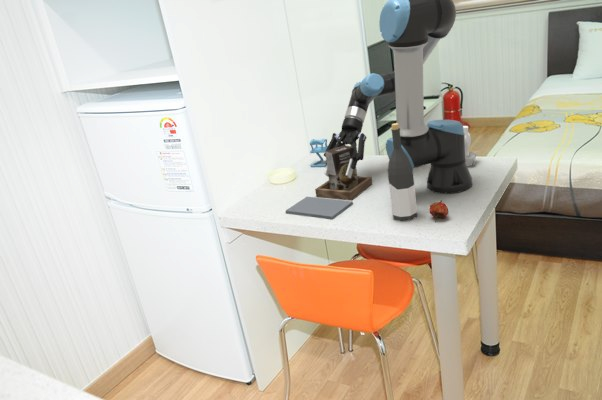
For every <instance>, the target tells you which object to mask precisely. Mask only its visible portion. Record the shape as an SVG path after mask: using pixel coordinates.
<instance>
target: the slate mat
mask: <svg viewBox="0 0 602 400" xmlns="http://www.w3.org/2000/svg"><path fill="white" fill-rule="evenodd" d="M352 205H354V202H353V200H343V199H334V198H324V197H316V196H315V197H314V196H313V197H312V196H305V197H304V198H302V199H301V200H300V201H298V202H296V203H295V204H294V205H292V206H290V207H288V208H287V209H286V210H285V213H286V214H289V215H296V216H303V217H312V218H319V219H327V220H335V218H337V217H338V216H339V215H341V214H342V213H343V212H344V211H346V210H348V208H349V207H351V206H352Z"/></svg>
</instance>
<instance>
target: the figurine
mask: <svg viewBox="0 0 602 400" xmlns="http://www.w3.org/2000/svg"><path fill="white" fill-rule="evenodd" d="M463 129H464V134H465V135H464V144H465V161H466V165H467V167H472V165H473V164H474V163H475V159H476V157H477V154H478V151H470V146H471V145H472V139H471V138H472V137H471V134H470V132H469V126H468V125H463Z"/></svg>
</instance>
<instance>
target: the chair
mask: <svg viewBox="0 0 602 400" xmlns="http://www.w3.org/2000/svg"><path fill="white" fill-rule="evenodd" d="M309 145H310V147H311V148H310V149H311V150H310V151H309V153H310V154H316V156H317V157H319V159H320V160H318V161H316V162H315V163H312V164H311V165H310V167H311V168H326V166H325V164H322V163H323V162H324V158H323V157H322V155H321V154H324V153H325V151H326V149H327V147H328V138H322V139H314V138H312V139H311V140H310V141H309ZM319 145H320V146H319ZM324 145H325V146H324Z"/></svg>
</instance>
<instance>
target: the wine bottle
mask: <svg viewBox="0 0 602 400" xmlns="http://www.w3.org/2000/svg"><path fill="white" fill-rule="evenodd" d="M392 137H393V146H394V149H393V152H392V154H391V157H390V159H389V158H388V159H389V160H388V163H387V176H388V186H389V195H390V204H391V205H390V206H391V211H392V219H393V220H395V221H398V222H407V221H413V220H414V219H416V218H417V217H418V208H417V199H416V197H417V196H416V190H415V189H416V188H415V187H416V186H415V178H414V169H412V166H411V163H410V161H409V159H408V157H407V155H406V154H405V152H404V151H403V149H402V148H401V138H400V128H399V125H398V123H397V122H396V123H392V124H391V138H392Z"/></svg>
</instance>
